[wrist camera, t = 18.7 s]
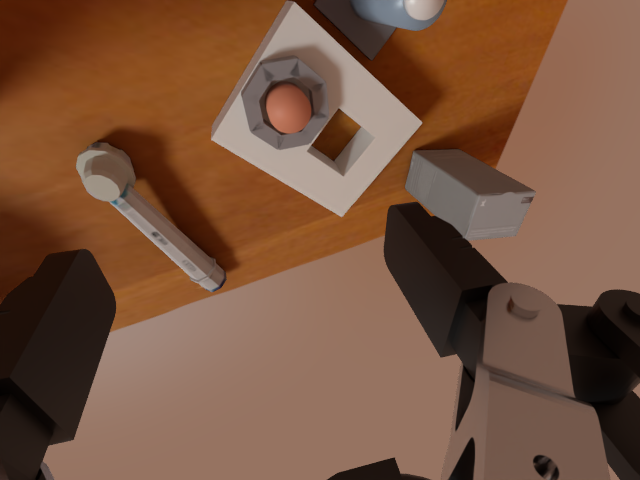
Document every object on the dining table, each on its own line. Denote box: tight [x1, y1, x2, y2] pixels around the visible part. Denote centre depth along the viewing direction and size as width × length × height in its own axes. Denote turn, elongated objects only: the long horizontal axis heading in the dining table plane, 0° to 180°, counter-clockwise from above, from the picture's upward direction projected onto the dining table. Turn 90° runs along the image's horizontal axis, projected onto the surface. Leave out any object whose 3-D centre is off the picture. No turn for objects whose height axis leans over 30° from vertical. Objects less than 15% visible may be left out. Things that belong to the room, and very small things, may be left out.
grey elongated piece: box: [76, 142, 227, 292], centre depth 46 cm, size 5×7×25 cm
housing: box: [211, 1, 422, 217], centre depth 41 cm, size 20×16×7 cm
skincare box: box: [405, 149, 536, 241], centre depth 46 cm, size 8×7×16 cm
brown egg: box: [265, 81, 311, 134], centre depth 36 cm, size 4×4×4 cm
